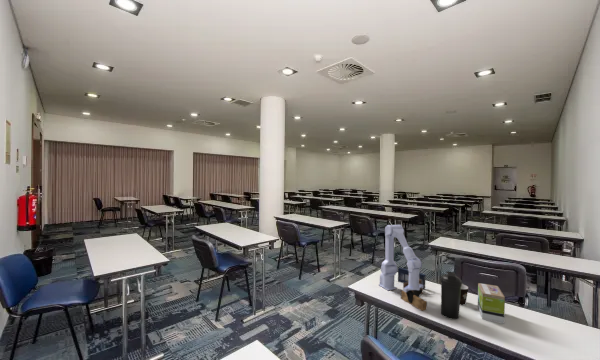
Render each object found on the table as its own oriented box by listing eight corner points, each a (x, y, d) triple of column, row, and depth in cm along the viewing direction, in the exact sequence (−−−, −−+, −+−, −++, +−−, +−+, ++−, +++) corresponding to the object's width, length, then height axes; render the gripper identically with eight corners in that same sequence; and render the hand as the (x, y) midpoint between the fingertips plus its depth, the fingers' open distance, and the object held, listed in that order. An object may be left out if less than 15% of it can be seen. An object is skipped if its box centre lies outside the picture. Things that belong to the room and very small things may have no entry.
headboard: (403, 293, 169) (403, 283, 168) (419, 289, 175) (419, 279, 175) (409, 297, 164) (409, 286, 164) (425, 292, 171) (426, 282, 170)
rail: (400, 298, 162) (400, 290, 162) (404, 297, 163) (404, 289, 163) (422, 311, 148) (422, 302, 147) (426, 310, 149) (426, 301, 149)
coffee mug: (463, 299, 163) (463, 283, 162) (470, 306, 154) (471, 289, 154) (443, 298, 164) (444, 282, 163) (450, 305, 155) (450, 288, 155)
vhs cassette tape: (397, 281, 188) (398, 267, 188) (399, 280, 190) (399, 266, 190) (423, 290, 175) (424, 275, 174) (425, 288, 177) (425, 274, 176)
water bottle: (459, 312, 146) (460, 272, 146) (461, 322, 137) (463, 279, 137) (438, 308, 151) (440, 269, 150) (440, 317, 141) (441, 275, 141)
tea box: (476, 306, 154) (477, 282, 153) (497, 311, 149) (498, 285, 149) (481, 319, 140) (482, 292, 140) (504, 324, 136) (505, 296, 135)
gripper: (410, 283, 148) (409, 307, 149) (428, 279, 154) (427, 302, 155) (400, 279, 155) (400, 301, 155) (418, 275, 161) (417, 297, 161)
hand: (413, 301), depth 155 cm, fingers open, 4 cm apart
